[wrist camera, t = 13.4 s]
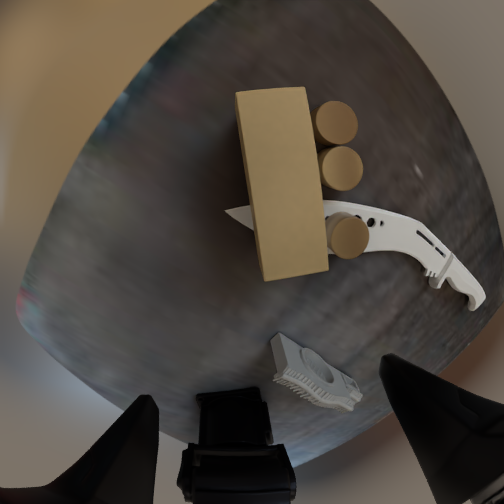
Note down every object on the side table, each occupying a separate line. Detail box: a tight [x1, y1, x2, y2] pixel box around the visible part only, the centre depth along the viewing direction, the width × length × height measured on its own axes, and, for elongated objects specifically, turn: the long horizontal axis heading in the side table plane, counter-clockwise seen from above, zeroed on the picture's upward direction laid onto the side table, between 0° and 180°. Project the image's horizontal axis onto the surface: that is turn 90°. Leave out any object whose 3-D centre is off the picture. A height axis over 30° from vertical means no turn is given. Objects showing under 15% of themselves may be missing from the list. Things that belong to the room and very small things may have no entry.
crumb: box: [310, 101, 358, 146], centre depth 16 cm, size 3×3×2 cm
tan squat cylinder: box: [325, 212, 369, 259], centre depth 18 cm, size 3×3×2 cm
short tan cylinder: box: [317, 146, 363, 191], centre depth 17 cm, size 3×3×2 cm
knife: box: [225, 200, 486, 311], centre depth 21 cm, size 30×2×8 cm
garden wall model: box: [270, 332, 363, 413], centre depth 21 cm, size 12×2×6 cm, turn 48°
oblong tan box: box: [235, 87, 329, 282], centre depth 15 cm, size 4×10×5 cm, turn 8°
